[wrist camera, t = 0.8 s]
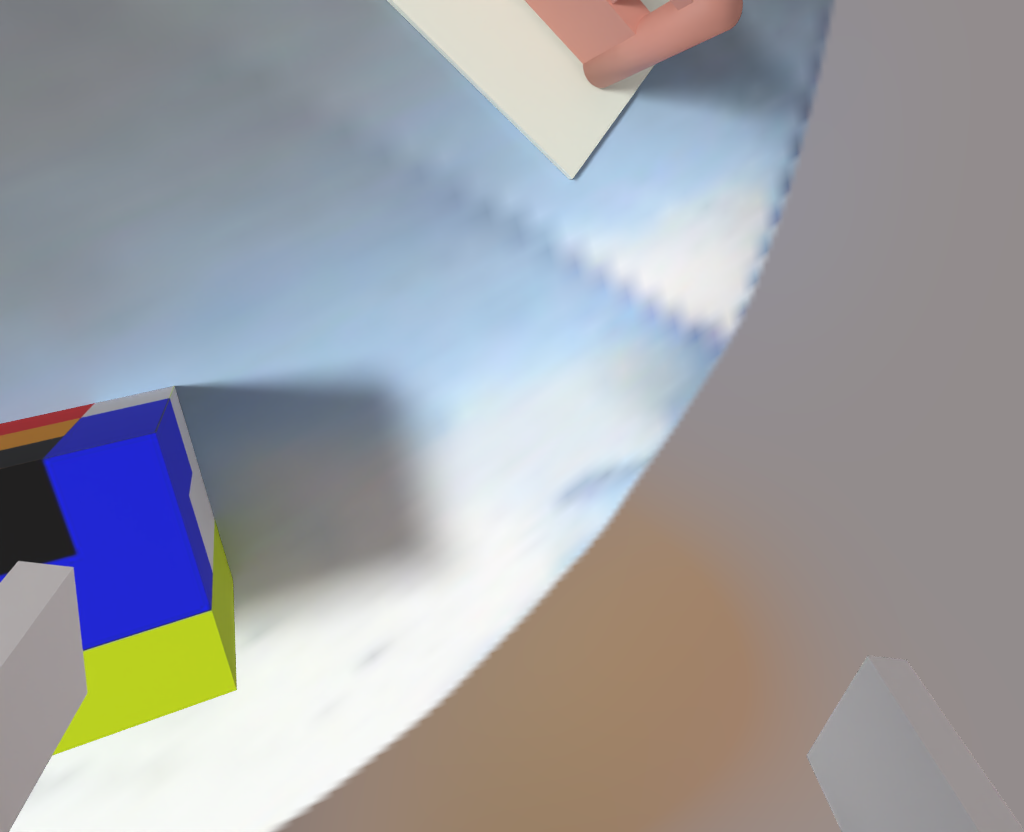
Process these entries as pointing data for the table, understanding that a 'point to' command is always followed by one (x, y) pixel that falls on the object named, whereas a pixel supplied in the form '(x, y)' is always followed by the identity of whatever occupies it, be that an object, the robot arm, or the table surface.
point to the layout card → (525, 72)
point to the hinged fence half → (632, 31)
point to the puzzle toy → (124, 553)
